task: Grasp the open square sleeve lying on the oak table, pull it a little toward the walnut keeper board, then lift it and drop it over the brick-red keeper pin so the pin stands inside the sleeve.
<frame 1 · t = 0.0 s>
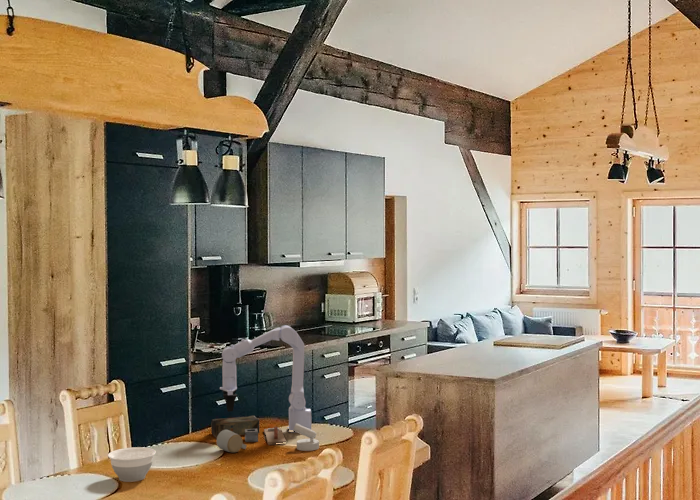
hand: (229, 409, 347), 10 cm above the table, tool pointing down, fingers open, 7 cm apart
bowl: (132, 478, 286), on the table
white round-based angled piece: (306, 448, 324), on the table
keeper board: (274, 437, 340), on the table
beverage carton: (235, 434, 348), on the table
ceramic mug: (232, 451, 321), on the table
open square sleeve: (251, 440, 336), on the table
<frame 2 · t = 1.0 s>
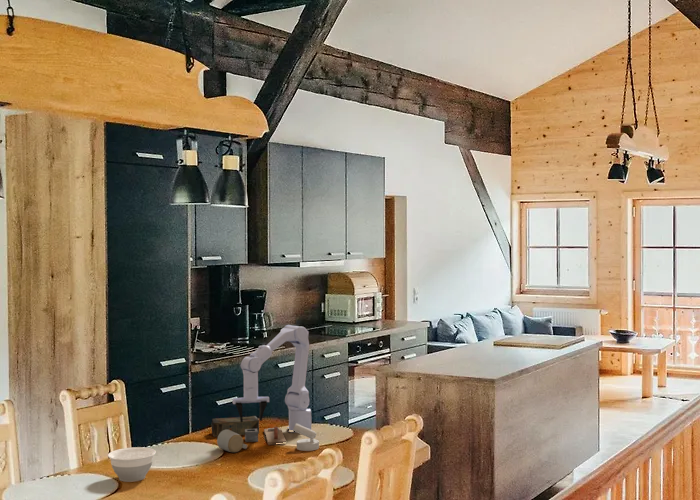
hand: (251, 420, 336), 8 cm above the table, tool pointing down, fingers open, 7 cm apart
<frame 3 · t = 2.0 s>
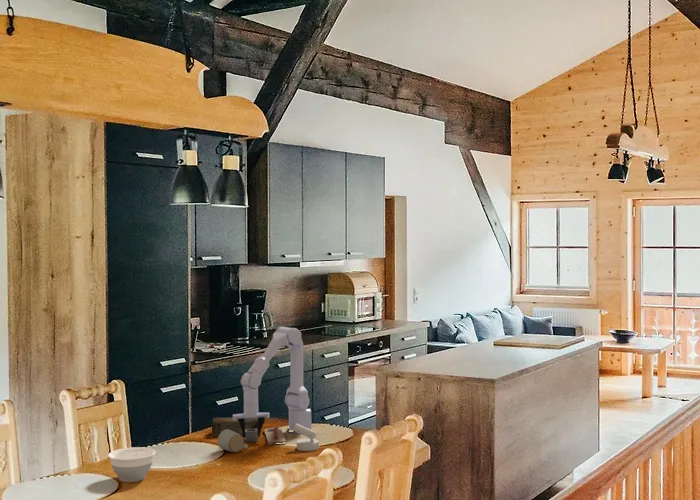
hand: (251, 436, 336), 1 cm above the table, tool pointing down, fingers closed on open square sleeve, 5 cm apart
open square sleeve: (251, 440, 336), on the table, touching gripper
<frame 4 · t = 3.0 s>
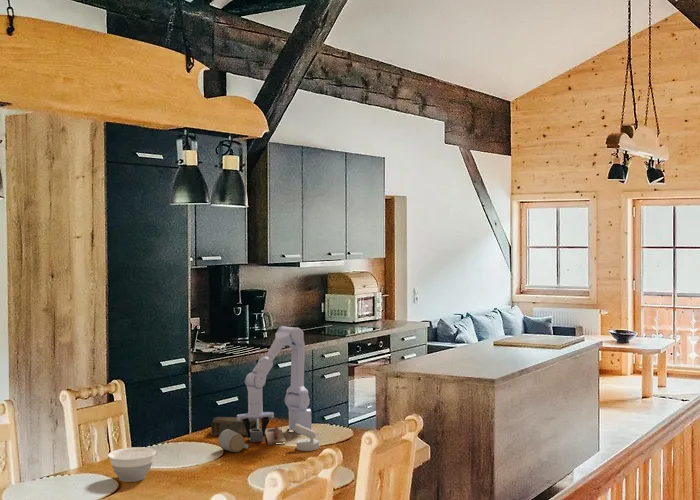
hand: (255, 436, 336), 2 cm above the table, tool pointing down, fingers closed on open square sleeve, 5 cm apart
open square sleeve: (255, 440, 336), on the table, touching gripper
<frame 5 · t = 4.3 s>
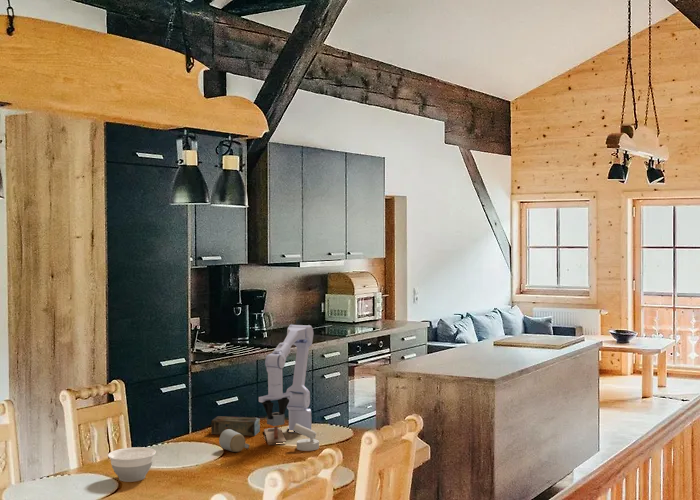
hand: (275, 418, 334), 9 cm above the table, tool pointing down, fingers closed on open square sleeve, 5 cm apart
open square sleeve: (275, 424, 334), point 7 cm above the table, touching gripper
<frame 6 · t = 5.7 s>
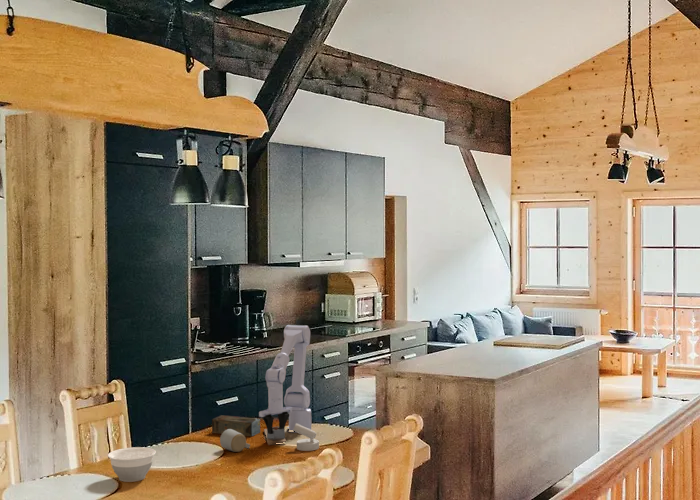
hand: (276, 432, 334), 4 cm above the table, tool pointing down, fingers closed on open square sleeve, 5 cm apart
open square sleeve: (275, 438, 334), point 1 cm above the table, touching gripper, keeper board
when the fingers open (4 cm above the table, at t = 5.9 s): open square sleeve stays where it is, resting on keeper board.
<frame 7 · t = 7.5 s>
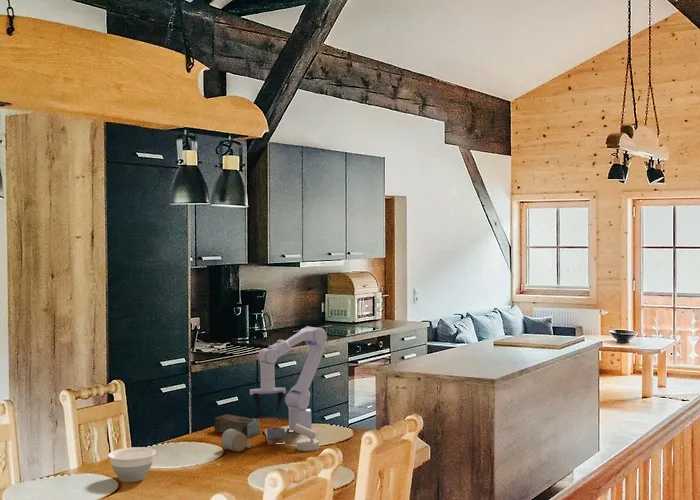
hand: (268, 411, 342), 10 cm above the table, tool pointing down, fingers open, 7 cm apart
open square sleeve: (275, 438, 334), point 1 cm above the table, touching keeper board
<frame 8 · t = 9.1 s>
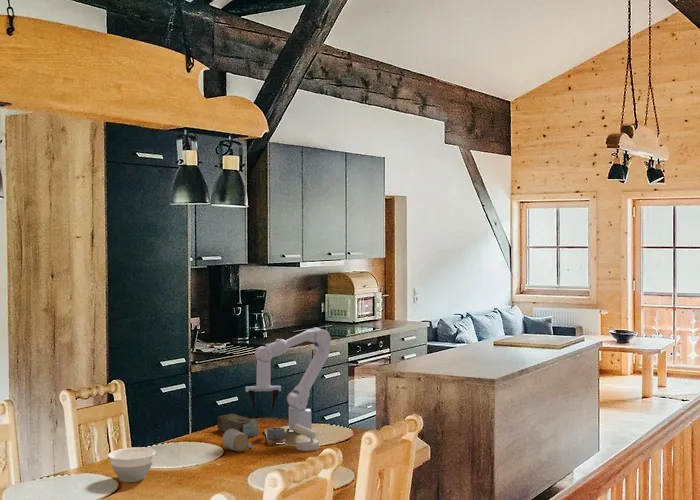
hand: (263, 408, 347), 10 cm above the table, tool pointing down, fingers open, 7 cm apart
at the end: open square sleeve 0.1 cm from the target spot on the keeper board, point 1.2 cm above the keeper board's base; the gripper is holding nothing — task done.
